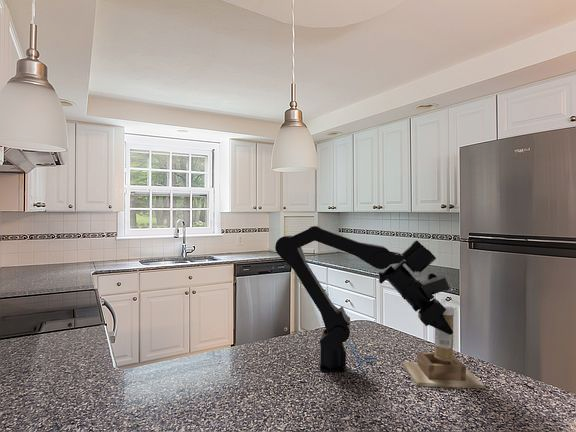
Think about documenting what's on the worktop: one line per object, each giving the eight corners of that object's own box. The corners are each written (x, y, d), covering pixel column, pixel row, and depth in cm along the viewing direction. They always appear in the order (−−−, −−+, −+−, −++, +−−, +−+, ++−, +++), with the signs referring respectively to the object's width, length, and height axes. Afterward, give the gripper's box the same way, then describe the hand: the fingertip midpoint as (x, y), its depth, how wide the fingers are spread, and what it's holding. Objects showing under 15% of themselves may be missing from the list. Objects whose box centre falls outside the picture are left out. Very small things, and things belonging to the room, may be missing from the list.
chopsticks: (364, 339, 119) (348, 339, 119) (383, 371, 94) (363, 371, 94) (364, 343, 119) (348, 344, 119) (383, 376, 94) (363, 377, 94)
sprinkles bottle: (455, 358, 93) (456, 306, 94) (450, 363, 90) (451, 308, 90) (437, 354, 96) (438, 303, 97) (431, 358, 93) (432, 305, 93)
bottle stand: (417, 385, 88) (417, 368, 88) (402, 364, 101) (402, 349, 101) (484, 388, 88) (484, 370, 88) (460, 366, 101) (461, 351, 101)
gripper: (437, 269, 85) (487, 320, 83) (423, 260, 103) (463, 302, 101) (401, 300, 86) (449, 351, 84) (393, 286, 105) (433, 328, 103)
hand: (449, 330), depth 93 cm, fingers closed on sprinkles bottle, 4 cm apart
